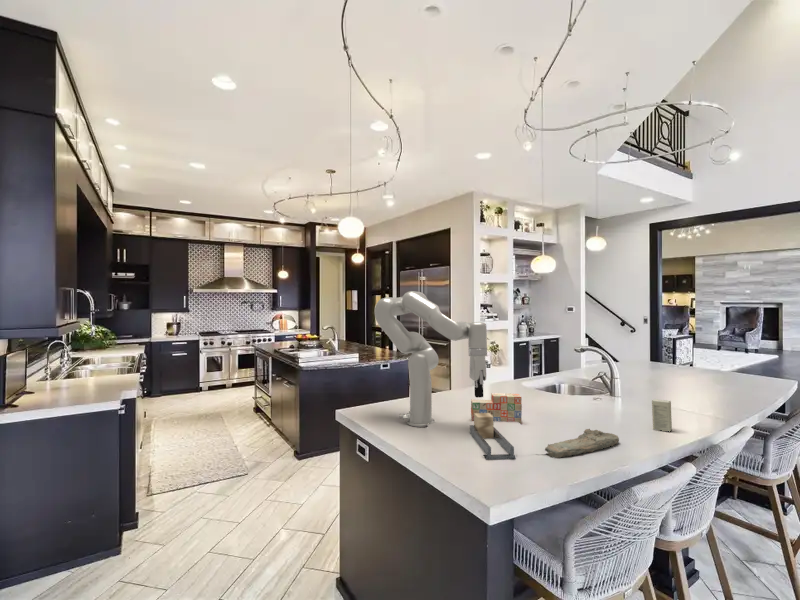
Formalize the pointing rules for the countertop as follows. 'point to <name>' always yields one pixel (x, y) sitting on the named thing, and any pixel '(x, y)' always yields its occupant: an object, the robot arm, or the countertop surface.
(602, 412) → the countertop surface
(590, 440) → the long grey stone
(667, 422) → the skincare box
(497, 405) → the stack of blocks
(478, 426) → the block
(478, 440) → the chute
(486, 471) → the countertop surface
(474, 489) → the countertop surface
